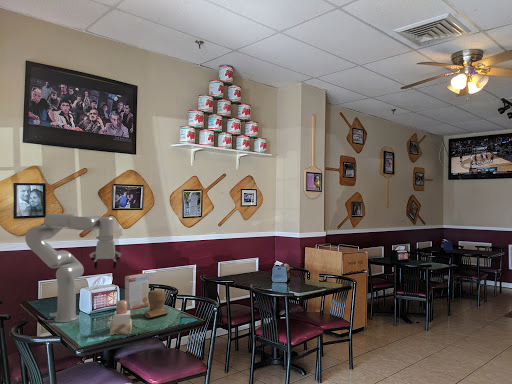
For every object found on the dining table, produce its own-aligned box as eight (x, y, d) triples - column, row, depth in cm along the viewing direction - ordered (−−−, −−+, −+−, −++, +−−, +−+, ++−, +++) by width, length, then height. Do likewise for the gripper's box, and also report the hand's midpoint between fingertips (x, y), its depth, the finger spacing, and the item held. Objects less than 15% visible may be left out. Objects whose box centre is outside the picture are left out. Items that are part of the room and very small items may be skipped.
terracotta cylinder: (116, 314, 213) (116, 302, 213) (116, 311, 218) (117, 300, 218) (126, 313, 214) (126, 302, 214) (127, 311, 219) (127, 300, 219)
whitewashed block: (113, 325, 211) (113, 315, 211) (114, 320, 219) (114, 311, 219) (130, 323, 213) (130, 314, 213) (130, 319, 221) (130, 310, 221)
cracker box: (144, 304, 269) (144, 272, 269) (148, 306, 265) (149, 274, 265) (124, 308, 259) (124, 275, 259) (129, 310, 255) (129, 277, 255)
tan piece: (159, 310, 255) (159, 286, 255) (171, 314, 247) (172, 289, 247) (138, 316, 243) (139, 291, 243) (151, 320, 235) (151, 294, 236)
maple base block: (110, 335, 210) (110, 325, 210) (112, 329, 220) (112, 319, 220) (130, 334, 212) (130, 324, 212) (131, 328, 222) (131, 318, 222)
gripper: (88, 239, 228) (87, 270, 227) (121, 239, 231) (120, 269, 231) (91, 237, 235) (90, 267, 235) (122, 237, 239) (121, 267, 238)
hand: (105, 268), depth 233 cm, fingers open, 9 cm apart
